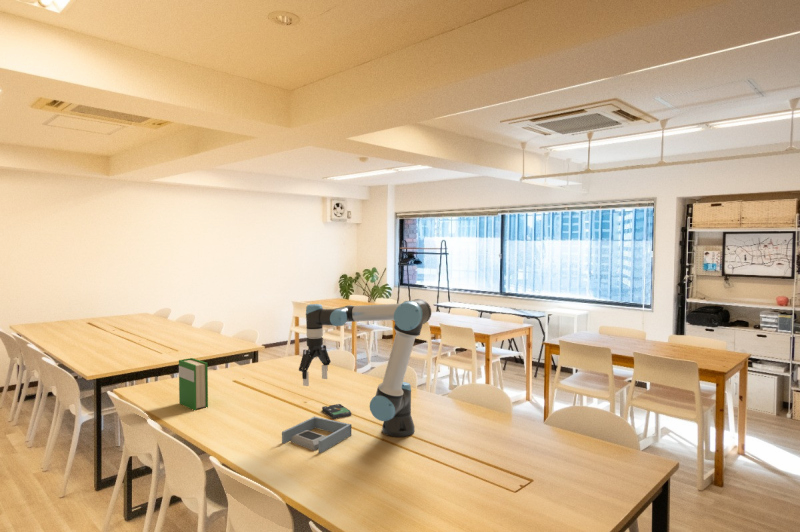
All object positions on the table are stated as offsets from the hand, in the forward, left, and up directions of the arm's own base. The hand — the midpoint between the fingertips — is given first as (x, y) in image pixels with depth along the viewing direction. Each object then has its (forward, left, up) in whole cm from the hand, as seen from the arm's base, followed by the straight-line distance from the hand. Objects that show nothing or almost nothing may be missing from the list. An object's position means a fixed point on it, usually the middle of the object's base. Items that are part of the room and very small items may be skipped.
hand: (315, 382), depth 232 cm
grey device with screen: (-8, +14, -23) cm, 28 cm away
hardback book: (+80, +5, -23) cm, 83 cm away
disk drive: (+5, -23, -23) cm, 33 cm away
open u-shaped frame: (-8, +8, -23) cm, 25 cm away
